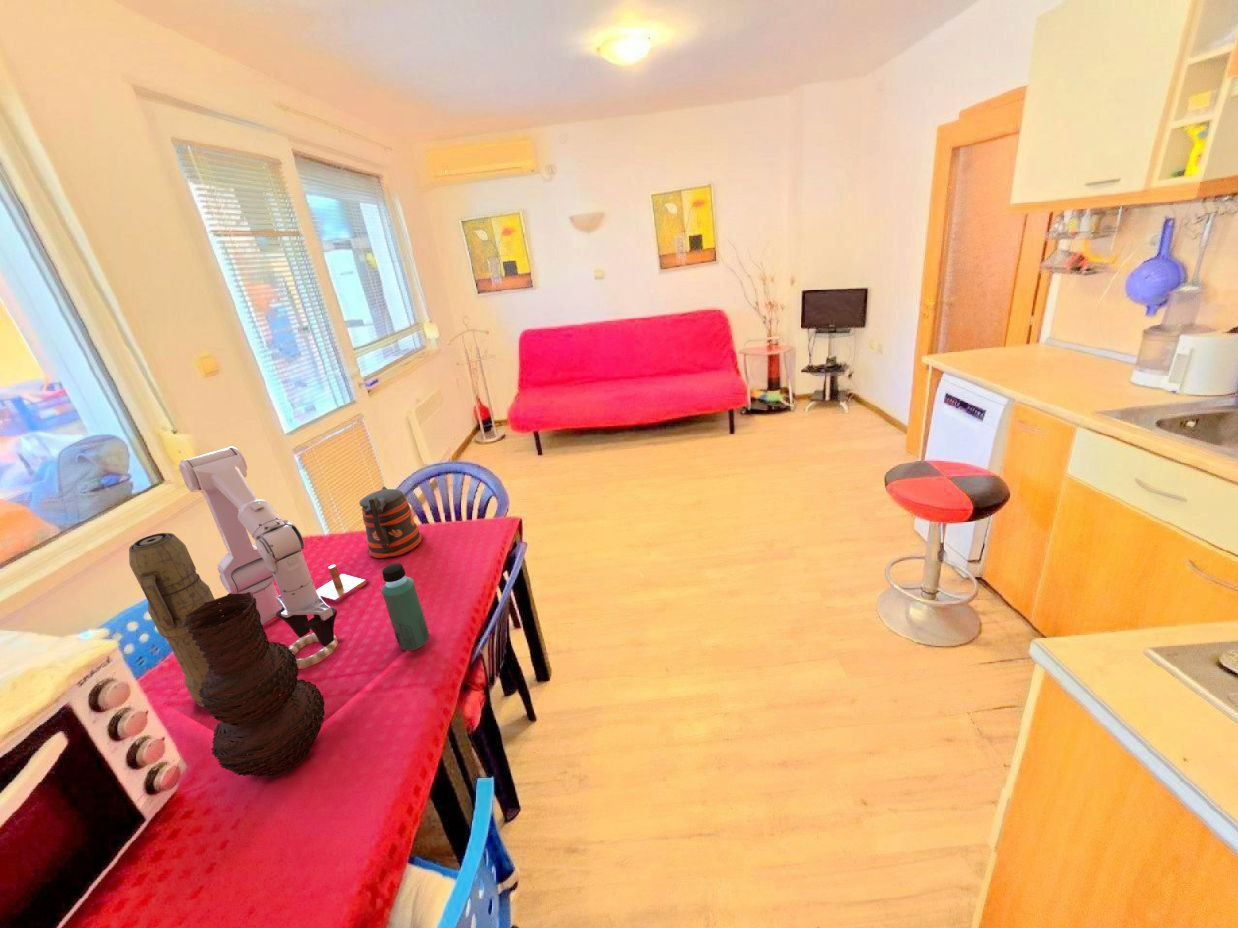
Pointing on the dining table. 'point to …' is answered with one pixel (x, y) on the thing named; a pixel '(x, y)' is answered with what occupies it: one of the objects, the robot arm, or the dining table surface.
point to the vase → (253, 690)
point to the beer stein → (389, 523)
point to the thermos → (172, 599)
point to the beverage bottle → (404, 608)
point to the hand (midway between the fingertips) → (316, 638)
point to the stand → (339, 584)
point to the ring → (316, 657)
